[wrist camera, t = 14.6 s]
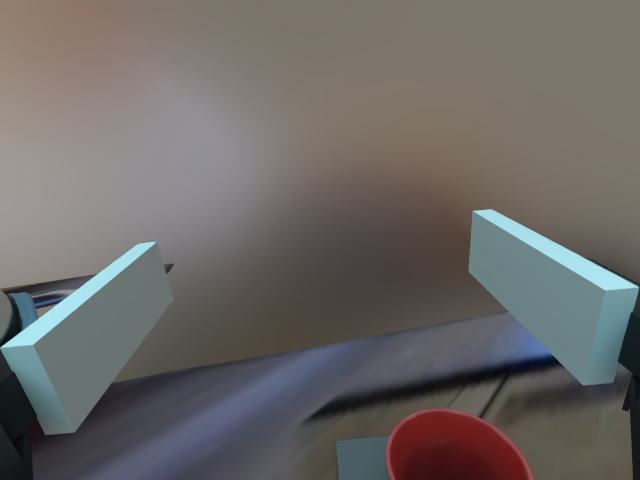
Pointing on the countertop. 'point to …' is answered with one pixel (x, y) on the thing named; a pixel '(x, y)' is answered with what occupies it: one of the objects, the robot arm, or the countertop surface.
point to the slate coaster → (362, 459)
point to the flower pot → (452, 449)
